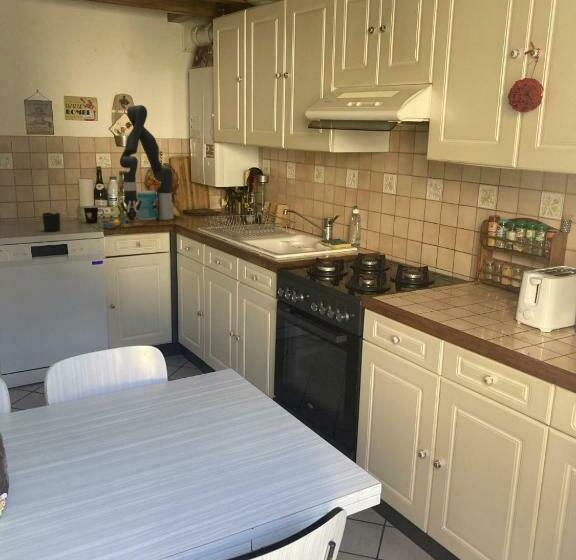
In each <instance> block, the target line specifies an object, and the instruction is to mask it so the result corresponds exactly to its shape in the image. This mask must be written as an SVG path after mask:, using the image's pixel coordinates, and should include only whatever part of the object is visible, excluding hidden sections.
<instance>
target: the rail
mask: <svg viewBox="0 0 576 560" xmlns="http://www.w3.org/2000/svg"><path fill="white" fill-rule="evenodd" d="M138 225H139V226H144V222H140V220H138V223H131V224H123V223H120V225H119V226H120V227H121V228H125V227H137V226H138Z"/></svg>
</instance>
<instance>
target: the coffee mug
mask: <svg viewBox="0 0 576 560" xmlns="http://www.w3.org/2000/svg"><path fill="white" fill-rule="evenodd" d="M83 210H84V216H85V217H84V218H85V222H86V224H89V223H92V224H98V219H99V218H100V217H103V215H104V214H105V210H104V209H102V208H99V206H97V205H85V206H83ZM99 211H102V214H100V215H99V216H98V214H99Z"/></svg>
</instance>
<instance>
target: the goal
mask: <svg viewBox="0 0 576 560" xmlns="http://www.w3.org/2000/svg"><path fill="white" fill-rule="evenodd" d="M98 226H100V227H102V228H101V229H103V228H108V229H115V226H114V223H113V222H110V220H99V221H98V220H97V227H98ZM100 227H99V228H100Z"/></svg>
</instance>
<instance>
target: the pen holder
mask: <svg viewBox="0 0 576 560" xmlns="http://www.w3.org/2000/svg"><path fill="white" fill-rule="evenodd" d="M42 223H43V228H44V229H43V230H44V231H45V232H47V233H48V232H49V233H51V232H60V230H61V213H60V212H56V213H52V212H44V213H43V212H42Z"/></svg>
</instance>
